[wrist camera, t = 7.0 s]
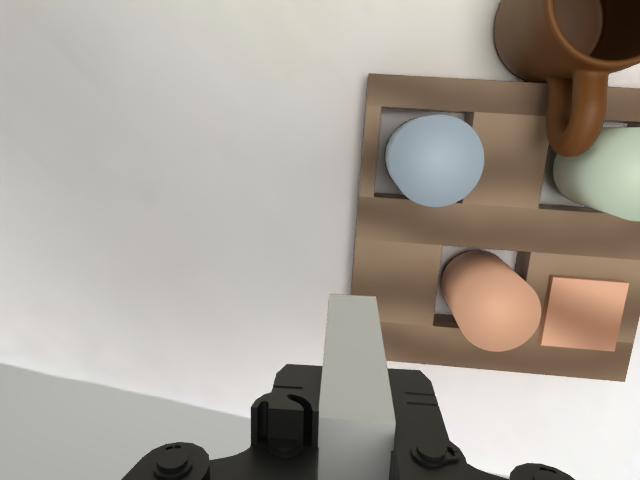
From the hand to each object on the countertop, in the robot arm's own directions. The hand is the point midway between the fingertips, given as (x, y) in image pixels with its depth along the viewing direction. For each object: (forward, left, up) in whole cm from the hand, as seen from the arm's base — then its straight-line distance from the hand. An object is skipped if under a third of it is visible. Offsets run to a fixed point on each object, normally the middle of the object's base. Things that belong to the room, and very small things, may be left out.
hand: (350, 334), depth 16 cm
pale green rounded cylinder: (-5, +15, -18) cm, 24 cm away
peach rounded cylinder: (+4, +9, -20) cm, 22 cm away
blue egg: (-5, +4, -18) cm, 19 cm away
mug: (-12, +12, -21) cm, 27 cm away
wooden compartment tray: (0, +10, -21) cm, 23 cm away
